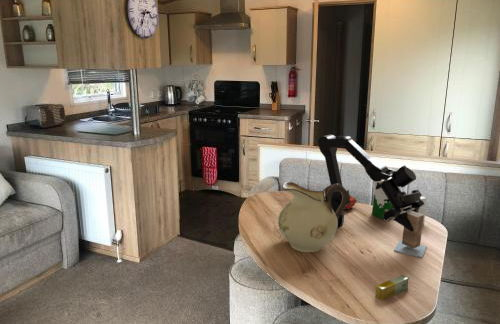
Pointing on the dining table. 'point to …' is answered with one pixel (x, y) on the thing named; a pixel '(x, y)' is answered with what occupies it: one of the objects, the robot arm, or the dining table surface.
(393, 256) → the dining table surface
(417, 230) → the wooden block
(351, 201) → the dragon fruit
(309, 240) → the pitcher
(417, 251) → the slate-blue rubber mat
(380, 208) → the milk carton
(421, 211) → the skincare box
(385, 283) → the medication box
